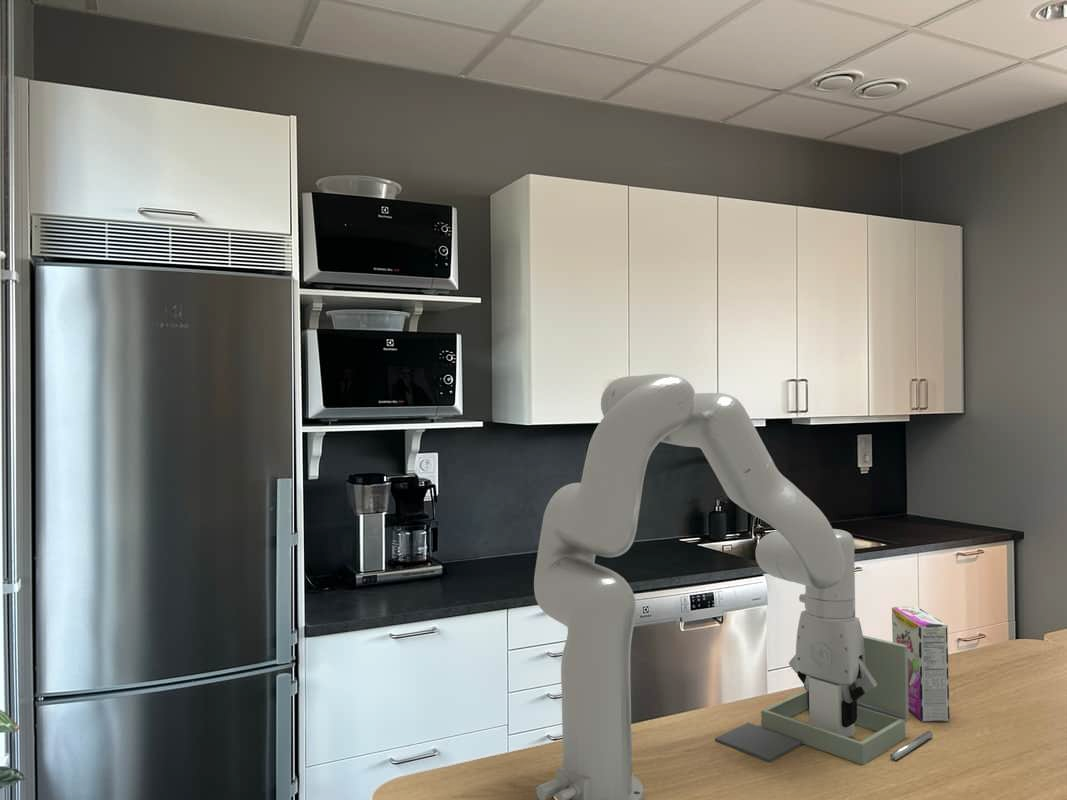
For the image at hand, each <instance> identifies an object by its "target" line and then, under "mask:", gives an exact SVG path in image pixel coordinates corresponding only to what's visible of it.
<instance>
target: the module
mask: <svg viewBox="0 0 1067 800" xmlns="http://www.w3.org/2000/svg"><path fill="white" fill-rule="evenodd" d="M843 701H844V695H843V692H842V685H840V684H836V683H832V682H829V681H825V680H822V679H818V678H815V677H809V709H808V716H809V725H812V726H815V727H818V728H821V729H824V730H827V731H830V732H833V733H836V734H839V735H842V736H845V737H848V738H850V737H852V736H854V735H855V733H856V729H855V728H856V726H855V723H854V724H852V725H850V726H848V727H847V728H846V727H843V726H842V708H841V703H842V702H843Z"/></svg>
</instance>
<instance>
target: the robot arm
mask: <svg viewBox="0 0 1067 800" xmlns="http://www.w3.org/2000/svg"><path fill="white" fill-rule="evenodd" d="M694 389H695V388H694V387H693V385H692V384H691V383H690V382H689V381H688V380H687V379H685V378H683V377H681V376H678V375H674V374H668V373H665V374H664V373H660V374H659V373H656V374H645V375H630V376H629V375H628V376H622V377H618V378H617V379H614V380H613V381H611V382H610V383H609V384H608V385H607V386H606V387H605V389H604V391H603V393H602V395H601V399H600V409H601V413H602V416H603V418H602V419H601V420H600V421H599V423H598V425H597V426H596V428H595V430H594V432H593V434H592V435H591V439H590V441H589V444H588V448H587V452H586V457H585V461H584V466H583V471H582V477H581V481H580V482H573V483H569V484H566V485H564V486H562V487H560V488H559V489H558V490H557V491H556V492H555V493H554V494H553V495H552V497H551V498H550V499H549V502H548V503H547V505H546V508H545V509H544V510H545V511H544V513H543V518H542V524H541V530H540V535H539V542H538V543H539V544H538V549H537V556H536V563H535V569H534V576H533V577H534V579H533V590H534V597H535V601H536V603H537V605H538V607H539V608H540V609H541V610H542V611H543V613H544V614H546V615H547V616H548V617H550V618H551V619H553V620H555V621H557V622H558V623H560V624H561V625H563V626H565V627H567V635H566V640H565V644H564V646H563V647H564V648H563V651H562V655H561V661H560V662H561V663H560V667H561V668H560V681H561V682H560V683H561V727H562V730H561V731H562V732H561V733H562V764H561V765H558V766H557V768H556V770H557V775H554V777H553V778H552V780H550V781H546V782H545V783H542V784H539V785H538V786H536V789H535V793H536V796H537V798H538V799H539V800H549V799H551V798H553V796H555V797H556V798H557V799H558V800H642V799H643V800H644V798H643V796H645V795H644V794H645V788H644V785H643V784H642V781H641V780H640V779H639V778H638V777H637V776H635V775H634V774H633V761H632V760H633V754H632V753H633V752H632V749H633V748H632V746H633V745H632V699H631V698H632V697H631V696H632V695H631V694H632V693H631V691H632V690H631V689H632V688H631V687H632V686H631V651H632V650H631V647H632V638H633V632H634V627H635V620H636V615H637V614H636V612H637V606H636V605H637V603H636V597H635V595H634V591H633V589H632V587H631V586H630V584H629V583H628V582H627V580H626V579H625V578H624V577H623V576H621V574H619V573H618V572H616V571H614V570H612V569H610V568H608V567H605V566H602V565H600V564H597V563H595V560H596V556H598V557H599V556H600V557H603V558H615V557H619V556H622V555H623V554H625V553H627V552H628V551H629V549H631V546H632V545H633V543H634V542H635V541H634V540H635V538H636V533H637V529H638V522H639V515H640V509H641V501H642V493H643V487H644V480H645V475H646V470H647V466H648V463H649V459H650V457H651V456H652V455H651V454H652V453H653V451H654V450H655V448H656V447H657V446H658V444H659V443H665V444H669V445H673V446H674V445H675V446H680V447H689V448H698V449H701V451H702V453H703V455H704V456H705V459H706V460H707V462H708V463H709V466H710V467H711V469H712V470H713V472H714V474H715V476H716V477H717V479H718V482H719V483H720V485H721V486H722V488H723V491H724V493H725V494H726V496H727V497H728V498H729V499H730V500H731V501H732V502H733V503H734V504H736V505H738V507H740V508H741V509H743V510H744V511H746V512H747V513H749V514H751V515H752V516H754V517H757V518H758V519H760V520H762V521H764V522H765V523H766V524H768V525H769V526H771V527H772V528H773V529H774V530H776V531H772V532H769V533H766V534H765V535H764V536H762V538H761V539H759V541H758V543H757V545H756V547H755V560H756V563H757V565H758V566H759V568H760V569H761V570H762V571H763V572H764V573H766V574H768V575H769V576H771V577H773V578H777V579H781V580H784V581H786V582H791V583H795V584H799V585H803V586H805V593H801V594H800V595H798V596H799V598H798V600H799V602H800V603H803V604H804V609H805V610H802V611H801V612H800V616H799V619H798V625H797V632H796V633H797V634H796V642H795V643H796V644H795V655H793V657H792V658H791V659H790V661H789V662H788V665H789V667H790V668H791V669H792V670H793V671H794V672H795V674H797V677H798V678H799V680H800V681H801V682H802V684H803V688H804V690H806V691H807V697H808V708H809V677H815V678H818V679H822V680H825V681H829V682H832V683H836V684H840V685H842V692H843V695H844V701H843V702H842V703H841V708H842V726H843V727H846V728H847V727H848V726H850V725H852V724H854V723H855V721H856V720H857V699H859V698H860V697H861V696H862V695H864V694H865V693H866V692H868V691H870V690H872V689H874V688H875V687H877V683H876V681H875V680H874V678H873V677H872V675H871V674H870V672H869V671H868V669H867V667H866V661H865V648H864V640H863V630H862V625H861V622H860V619H859V617H857V616H856V585H855V584H856V583H855V582H856V575H855V574H856V573H855V571H856V570H855V540H854V537H853V535H852V534H851V533H850V532H848V531H846V530H842V529H837V528H833V527H832V525H831V524H830V523H831V522H830V521H829V520H828V518H827V516H825V514H824V513H823V512H822V510H821V509H820V508H819V507H818V506H817V505H816V504H815V503H814V502H813V501H812V500H811V499H810V498H809V497H808V496H806V495H805V494H804V493H803V492H802V490H800V489H799V488H798V487H797V486H796V485H795V484H794V483H793V482H791V481H790V480H789V479H788V478H786V477H785V476H784V475H783V474H782V473H781V472H780V471H779V470H778V468H777V466H776V464H775V462H774V460H773V458H772V457H771V455H770V453H769V451H768V450H767V448H766V445H765V444H764V442H763V440H762V438H761V436H760V435H759V432H758V431H757V429H756V427H755V424H754V423H753V421H752V419H751V418H750V416H749V414H748V412H747V411H746V408H745V406H744V405H743V404H742V403H741V401H740V400H738V398H736V397H734V396H732V395H730V394H726V393H723V392H722V393H720V392H698V393H697V392H695V390H694ZM856 679H857V680H861V679H862V681H863V684H862V685H861V686H859V687H858V685H857V681H856Z"/></svg>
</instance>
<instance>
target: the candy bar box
mask: <svg viewBox="0 0 1067 800" xmlns="http://www.w3.org/2000/svg"><path fill="white" fill-rule="evenodd" d="M891 619H892V620H891V621H892V623H891V626H892V642H894V643H898V644H903V645H907V646H908V702H909V712H911V713H912V714H913V715H914V716H915V717H916V718H917V719H919V720H920V722H923V723H940V722H941V723H942V722H950V688H949V684H950V683H949V643H948V632H949V631H948V624H946V623H945V622H943V621H941V620H940V619H938V618H936V617H935V616H933V615H932V614H930V613H928V612H927V611H925V610H923V609H922V608H920V607H919V606H894V607H891Z"/></svg>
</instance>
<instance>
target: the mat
mask: <svg viewBox="0 0 1067 800" xmlns="http://www.w3.org/2000/svg"><path fill="white" fill-rule="evenodd" d="M714 741H715V742H717V743H720V744H722V743H723V745H725V746H728V747H730V746H731V748H733V749H735V750H738V751H740V752H743V753H745V754H747V755H751V756H754V757H756V758H758V759H761V760H764V761H765V762H766V761H767V762H768V763H771V762H772V761H773V760H775V759H779V758H780V757H782V756H784V755H786V754H787V753H789V752H791V751H792V750H795V749H796V748H798V747H801V746H802V745H804V744H803V742H802V741H799V740H796V739H794V738H791V737H788V736H785V735H782V734H780V733H777V732H774V731H771V730H768V729H766V728H763V727H761V725H757V724H754V723H751V722H749V721H747V723H744V724H742V725H739V726H738V727H735V728H734V729H731V730H729V731H727V732H725V733H723V734H720V735H719V736H716V737H715V738H714Z"/></svg>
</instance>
